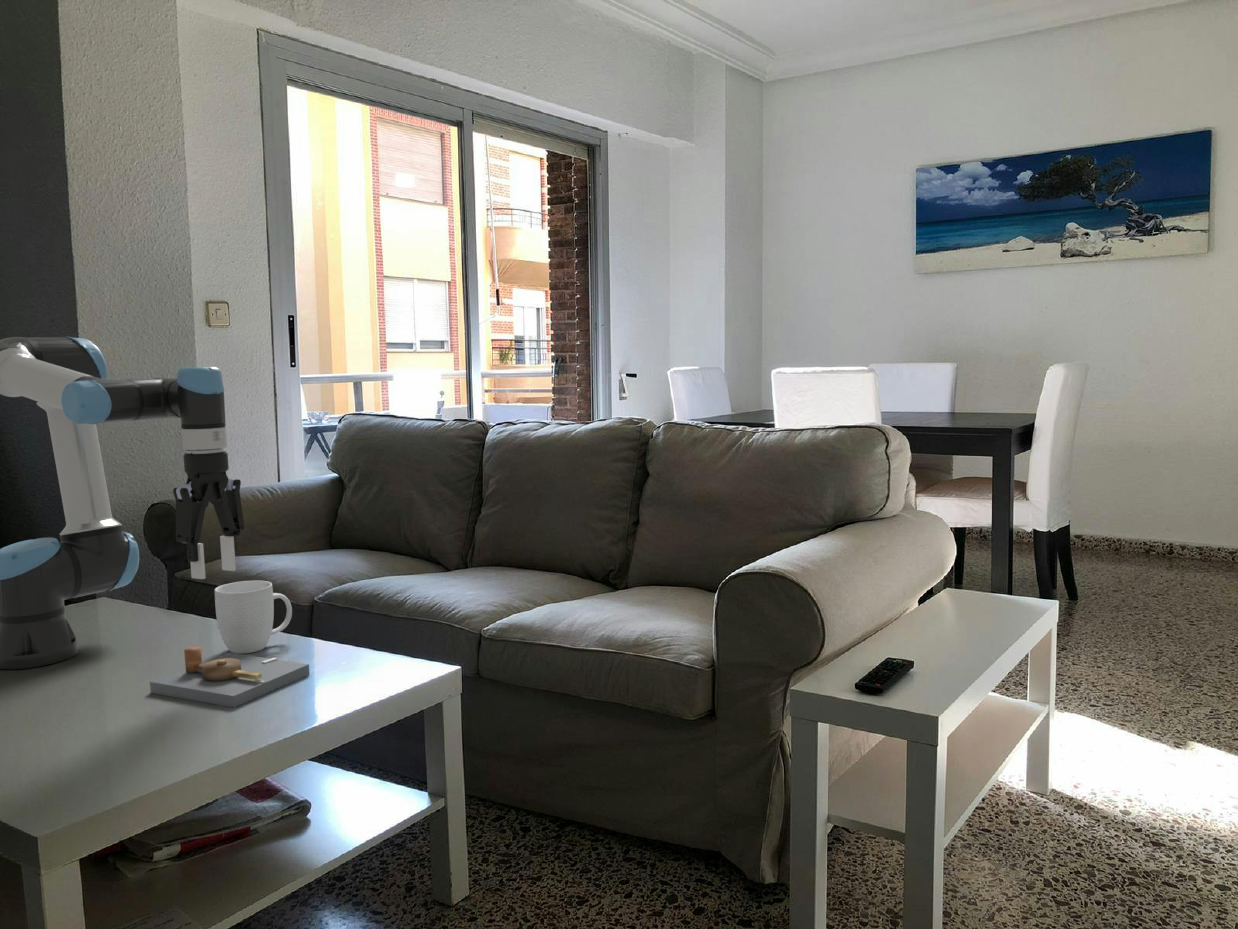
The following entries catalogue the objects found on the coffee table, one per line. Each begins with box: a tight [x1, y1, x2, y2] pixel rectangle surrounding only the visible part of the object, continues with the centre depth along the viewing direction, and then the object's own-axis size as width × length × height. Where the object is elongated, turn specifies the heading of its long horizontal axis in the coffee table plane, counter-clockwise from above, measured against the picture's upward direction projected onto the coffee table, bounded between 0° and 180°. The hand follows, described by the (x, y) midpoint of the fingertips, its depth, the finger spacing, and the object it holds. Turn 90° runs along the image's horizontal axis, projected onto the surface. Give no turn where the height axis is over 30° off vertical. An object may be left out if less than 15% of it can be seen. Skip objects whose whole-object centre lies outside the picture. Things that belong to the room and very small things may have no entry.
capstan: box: [183, 646, 262, 681], centre depth 173 cm, size 17×6×4 cm, turn 65°
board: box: [149, 652, 310, 708], centre depth 175 cm, size 20×18×2 cm
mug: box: [214, 580, 293, 655], centre depth 196 cm, size 15×11×13 cm
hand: (214, 573), depth 179 cm, fingers open, 6 cm apart
